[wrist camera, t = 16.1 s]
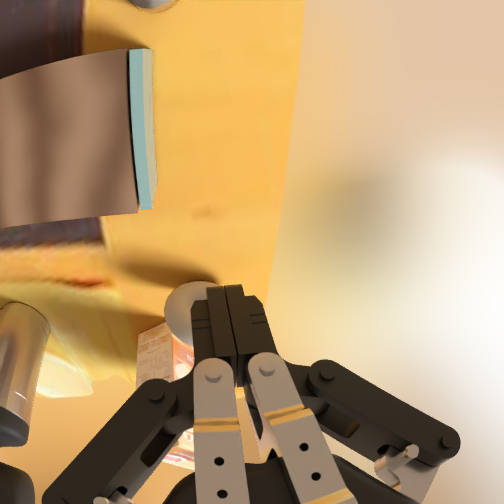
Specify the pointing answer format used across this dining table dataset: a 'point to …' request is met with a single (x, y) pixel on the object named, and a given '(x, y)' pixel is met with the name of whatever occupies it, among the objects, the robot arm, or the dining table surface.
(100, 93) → the housing
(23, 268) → the dining table surface
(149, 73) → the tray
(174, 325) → the donut
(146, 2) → the shiny metal cylinder
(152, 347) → the coffeecake box
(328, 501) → the robot arm
